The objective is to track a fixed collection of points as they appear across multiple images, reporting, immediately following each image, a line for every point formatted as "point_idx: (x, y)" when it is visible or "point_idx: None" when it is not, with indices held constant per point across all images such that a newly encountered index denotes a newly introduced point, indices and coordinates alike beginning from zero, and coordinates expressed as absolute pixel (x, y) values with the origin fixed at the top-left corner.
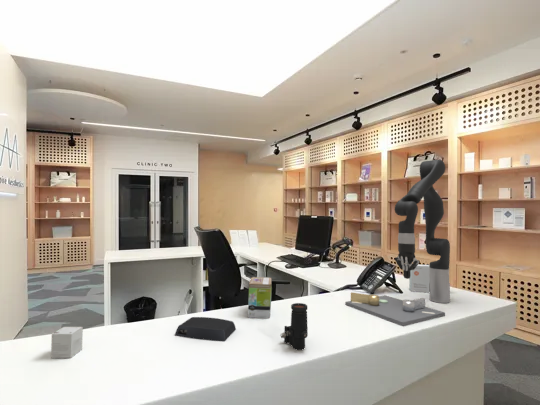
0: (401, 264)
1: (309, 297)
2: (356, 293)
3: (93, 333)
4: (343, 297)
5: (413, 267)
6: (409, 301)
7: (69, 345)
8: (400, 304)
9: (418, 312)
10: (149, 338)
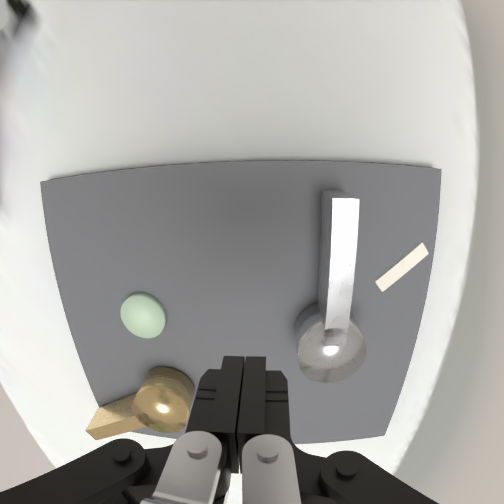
0: (81, 486)
1: (31, 423)
2: (105, 432)
3: None
4: (23, 349)
5: (366, 496)
6: (339, 357)
7: None
8: (216, 265)
9: (369, 305)
10: None
